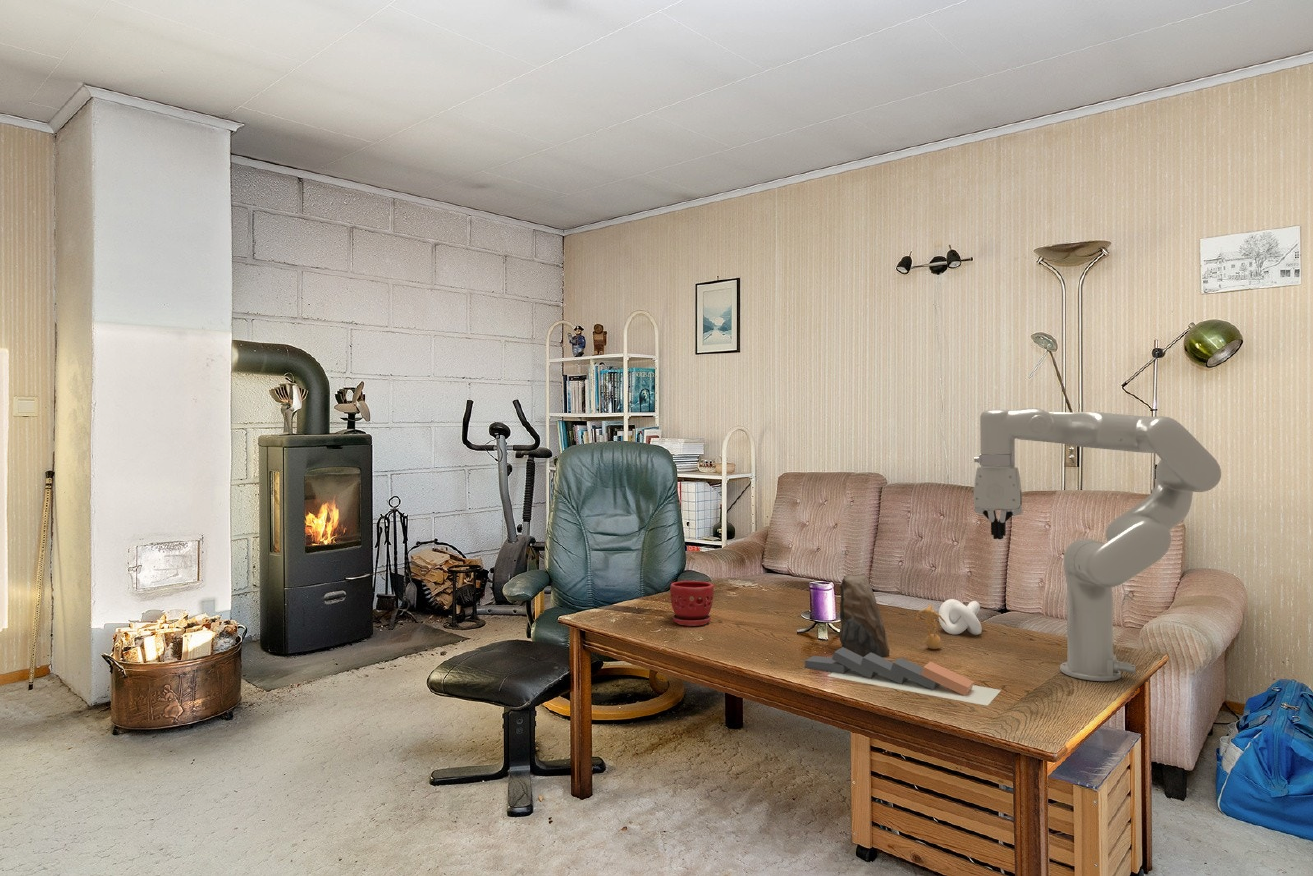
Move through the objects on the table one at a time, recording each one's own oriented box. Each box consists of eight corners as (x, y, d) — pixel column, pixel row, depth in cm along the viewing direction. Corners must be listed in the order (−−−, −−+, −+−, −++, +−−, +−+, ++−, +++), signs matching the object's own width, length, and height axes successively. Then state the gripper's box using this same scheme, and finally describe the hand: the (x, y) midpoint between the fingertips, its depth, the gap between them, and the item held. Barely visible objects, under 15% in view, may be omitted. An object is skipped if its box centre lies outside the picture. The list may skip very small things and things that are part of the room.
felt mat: (1001, 691, 177) (1001, 690, 177) (987, 707, 168) (987, 705, 168) (847, 665, 199) (847, 663, 199) (826, 677, 189) (826, 676, 189)
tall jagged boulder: (843, 660, 202) (842, 581, 202) (827, 647, 215) (826, 572, 215) (891, 658, 204) (890, 580, 203) (873, 645, 216) (872, 571, 216)
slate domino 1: (851, 660, 194) (813, 655, 200) (843, 665, 190) (804, 660, 196) (852, 668, 194) (814, 663, 200) (843, 673, 190) (805, 668, 196)
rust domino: (974, 681, 177) (930, 661, 183) (967, 687, 173) (923, 667, 179) (971, 689, 178) (927, 669, 183) (965, 696, 174) (920, 675, 179)
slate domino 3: (911, 671, 186) (870, 652, 191) (903, 676, 182) (862, 657, 187) (908, 678, 186) (868, 659, 192) (901, 684, 182) (860, 665, 188)
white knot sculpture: (939, 636, 224) (939, 604, 224) (937, 626, 236) (937, 596, 236) (982, 639, 221) (982, 607, 221) (979, 628, 232) (978, 598, 232)
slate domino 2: (880, 666, 190) (842, 647, 196) (872, 671, 186) (834, 651, 191) (878, 673, 190) (840, 654, 196) (870, 679, 186) (832, 659, 192)
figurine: (951, 650, 211) (951, 604, 210) (942, 655, 206) (942, 608, 206) (921, 644, 216) (921, 600, 216) (911, 649, 212) (911, 604, 212)
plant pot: (715, 628, 237) (714, 587, 237) (670, 628, 237) (670, 588, 237) (712, 617, 250) (712, 579, 250) (670, 617, 250) (670, 579, 250)
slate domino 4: (942, 676, 181) (900, 657, 187) (935, 682, 177) (893, 662, 183) (940, 684, 182) (898, 665, 187) (933, 690, 178) (890, 670, 183)
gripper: (960, 462, 192) (961, 538, 192) (1028, 462, 184) (1029, 542, 184) (969, 460, 198) (969, 534, 199) (1034, 461, 190) (1035, 538, 190)
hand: (998, 538), depth 191 cm, fingers closed
